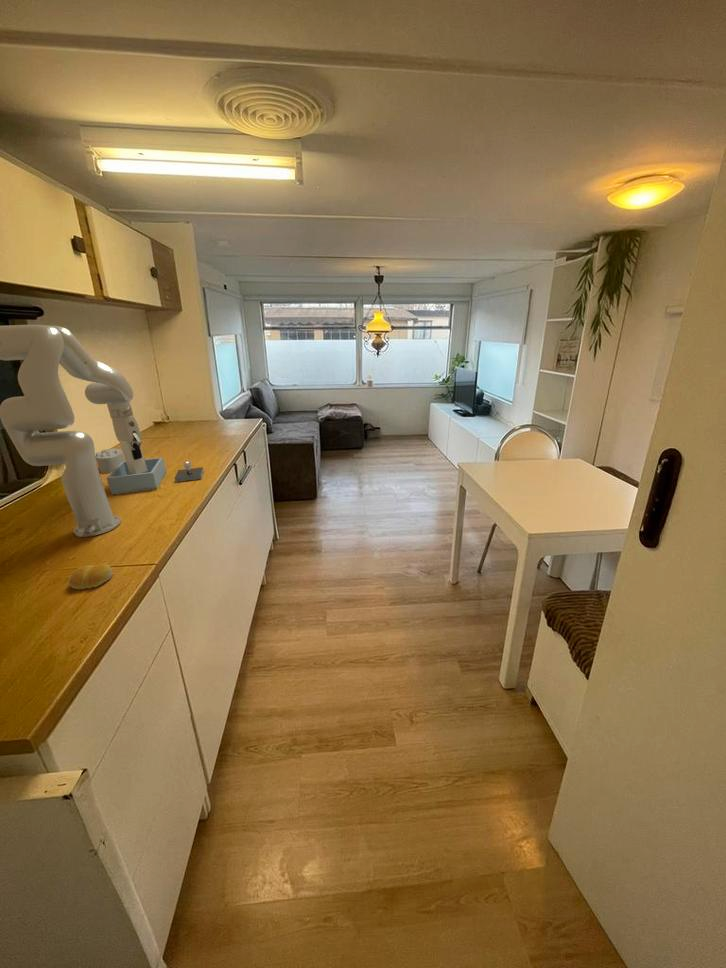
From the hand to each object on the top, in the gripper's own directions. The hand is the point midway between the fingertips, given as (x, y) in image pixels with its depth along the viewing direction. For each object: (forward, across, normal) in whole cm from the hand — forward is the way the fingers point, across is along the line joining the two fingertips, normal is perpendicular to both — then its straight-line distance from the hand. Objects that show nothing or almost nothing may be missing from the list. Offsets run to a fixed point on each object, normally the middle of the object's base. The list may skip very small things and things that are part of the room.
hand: (134, 457), depth 151 cm
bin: (+11, 0, 0) cm, 11 cm away
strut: (+6, 0, 0) cm, 6 cm away
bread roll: (+11, -52, +46) cm, 71 cm away
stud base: (+11, -14, -13) cm, 22 cm away
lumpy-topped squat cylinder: (+12, +30, -5) cm, 32 cm away
